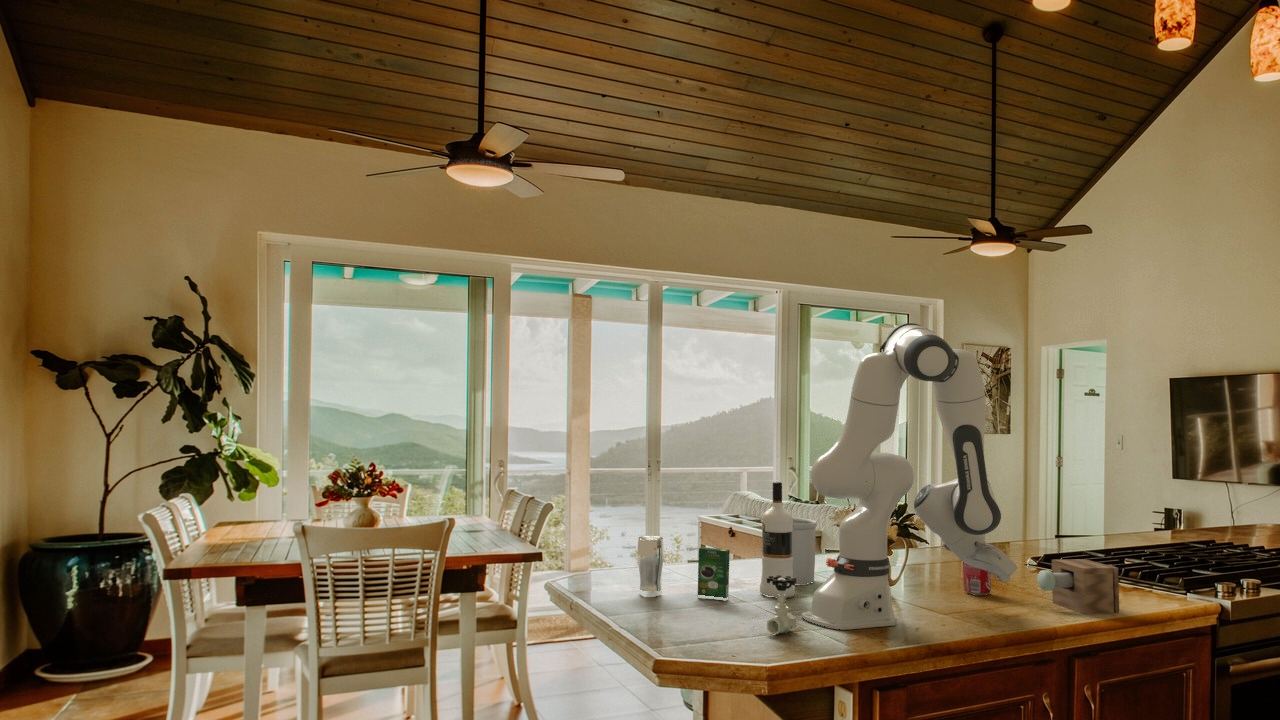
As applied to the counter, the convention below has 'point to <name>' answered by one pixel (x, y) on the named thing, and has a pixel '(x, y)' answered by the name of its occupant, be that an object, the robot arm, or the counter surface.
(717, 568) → the coffee box
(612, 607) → the counter surface
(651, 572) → the beer glass
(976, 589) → the soda can
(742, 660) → the counter surface
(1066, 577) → the knob
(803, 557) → the utensil holder
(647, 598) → the counter surface
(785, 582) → the valve
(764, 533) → the vodka
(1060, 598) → the mount
